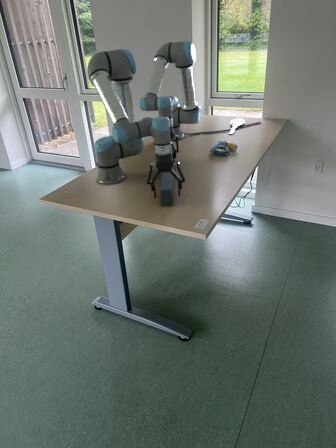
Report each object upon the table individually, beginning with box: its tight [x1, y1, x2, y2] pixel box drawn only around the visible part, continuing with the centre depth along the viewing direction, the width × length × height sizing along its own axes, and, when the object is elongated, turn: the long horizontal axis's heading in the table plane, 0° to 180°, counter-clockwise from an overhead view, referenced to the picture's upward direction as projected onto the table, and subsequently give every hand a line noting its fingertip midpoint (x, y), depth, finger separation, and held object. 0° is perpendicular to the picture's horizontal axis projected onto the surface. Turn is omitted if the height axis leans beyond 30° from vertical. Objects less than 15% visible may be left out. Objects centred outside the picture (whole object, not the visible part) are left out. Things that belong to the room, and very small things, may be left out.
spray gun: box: [209, 140, 238, 157], centre depth 214 cm, size 21×4×15 cm
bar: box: [159, 146, 175, 207], centre depth 181 cm, size 60×5×8 cm, turn 179°
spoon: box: [228, 118, 245, 135], centre depth 259 cm, size 35×11×2 cm, turn 159°
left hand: (167, 195), depth 163 cm, fingers open, 11 cm apart
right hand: (169, 163), depth 203 cm, fingers closed on bar, 5 cm apart
